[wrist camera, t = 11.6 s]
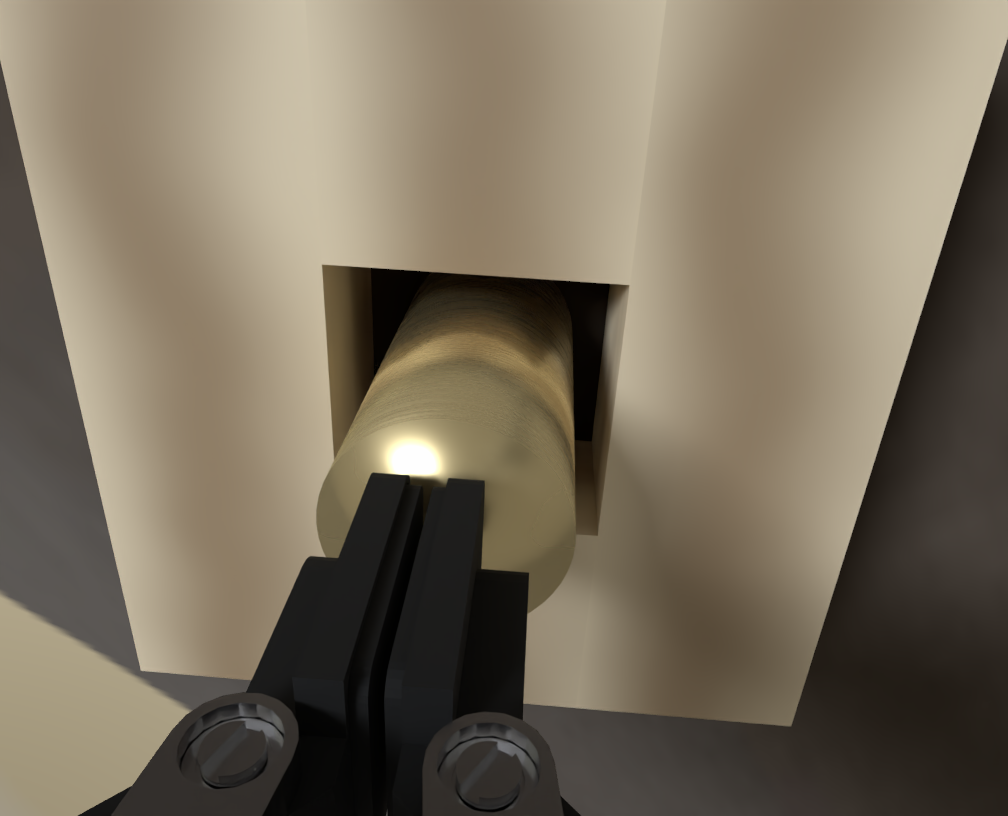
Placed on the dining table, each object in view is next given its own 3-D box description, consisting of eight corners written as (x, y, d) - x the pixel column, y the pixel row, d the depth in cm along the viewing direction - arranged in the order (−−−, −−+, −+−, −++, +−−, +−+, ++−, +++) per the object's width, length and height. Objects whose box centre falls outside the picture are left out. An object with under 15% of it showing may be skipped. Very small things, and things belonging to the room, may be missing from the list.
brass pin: (579, 257, 18) (587, 430, 11) (565, 411, 20) (564, 641, 13) (406, 246, 18) (307, 410, 11) (408, 399, 20) (324, 620, 13)
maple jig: (920, -26, 15) (1028, -30, 12) (755, 611, 23) (791, 726, 19) (100, -69, 16) (-34, -86, 12) (204, 567, 23) (140, 670, 20)
